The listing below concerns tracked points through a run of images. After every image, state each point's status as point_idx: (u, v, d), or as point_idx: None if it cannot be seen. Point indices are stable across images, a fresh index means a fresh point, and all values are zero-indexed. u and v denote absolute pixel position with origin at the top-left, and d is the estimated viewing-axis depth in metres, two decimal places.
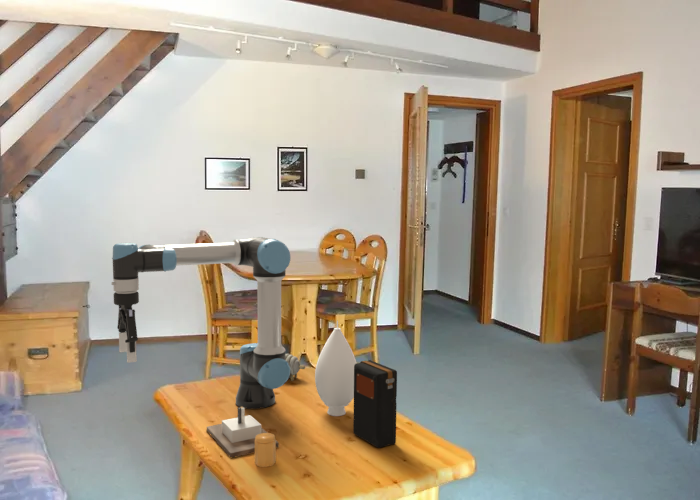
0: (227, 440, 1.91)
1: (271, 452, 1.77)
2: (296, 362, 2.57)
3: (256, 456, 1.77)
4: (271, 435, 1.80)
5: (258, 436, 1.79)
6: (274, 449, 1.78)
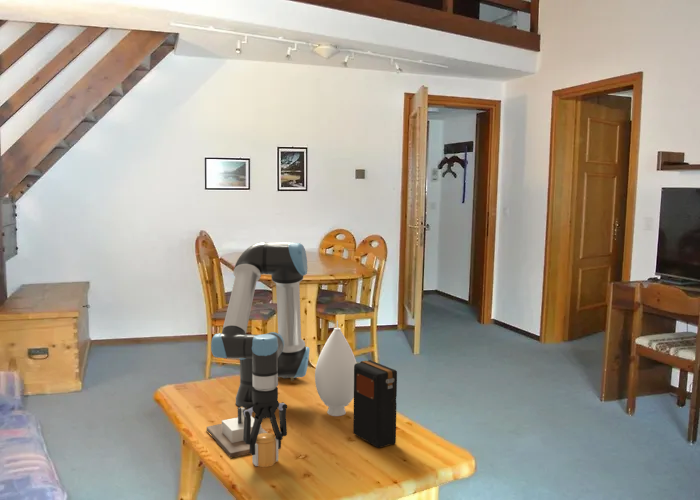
0: (227, 440, 1.91)
1: (271, 452, 1.77)
2: None
3: None
4: (271, 435, 1.80)
5: (258, 436, 1.79)
6: (274, 449, 1.78)
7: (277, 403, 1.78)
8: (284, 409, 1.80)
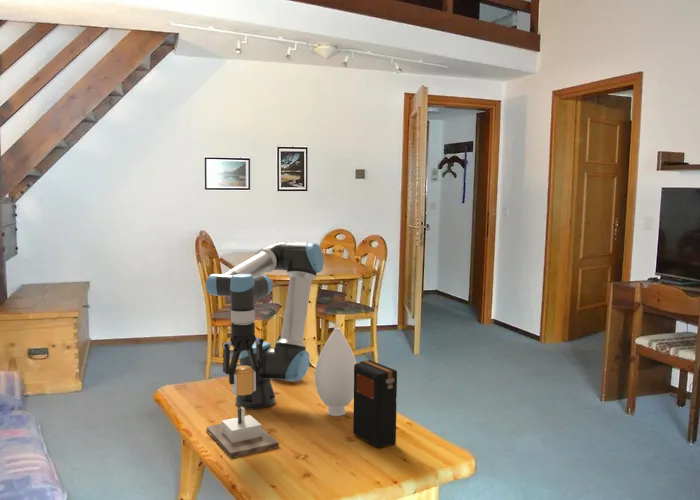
0: (227, 440, 1.91)
1: (249, 382, 1.92)
2: None
3: None
4: (249, 367, 1.94)
5: (237, 368, 1.93)
6: (252, 379, 1.93)
7: (254, 337, 1.93)
8: (261, 343, 1.94)
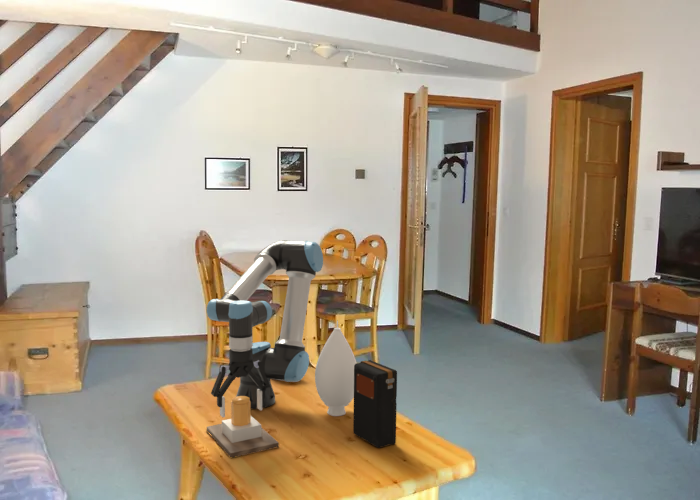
0: (227, 440, 1.91)
1: (246, 412, 1.94)
2: None
3: (232, 416, 1.94)
4: (246, 397, 1.96)
5: (234, 398, 1.95)
6: (249, 410, 1.95)
7: (251, 363, 1.95)
8: (260, 366, 1.96)
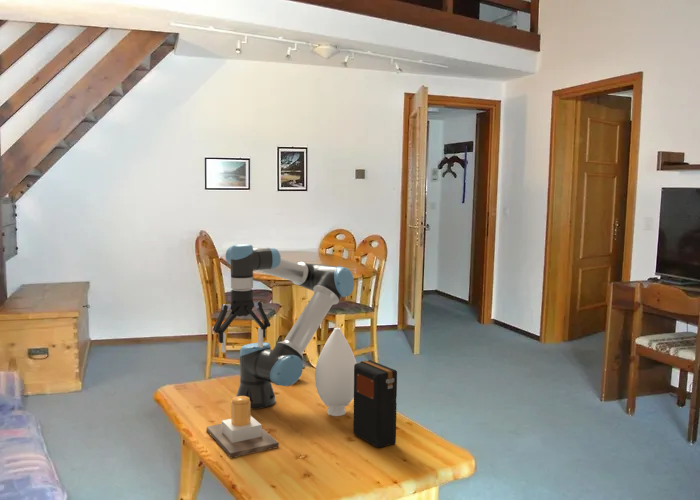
0: (227, 440, 1.91)
1: (246, 412, 1.94)
2: None
3: (232, 416, 1.94)
4: (246, 397, 1.96)
5: (234, 398, 1.95)
6: (249, 410, 1.95)
7: (252, 303, 2.06)
8: (260, 306, 2.07)
